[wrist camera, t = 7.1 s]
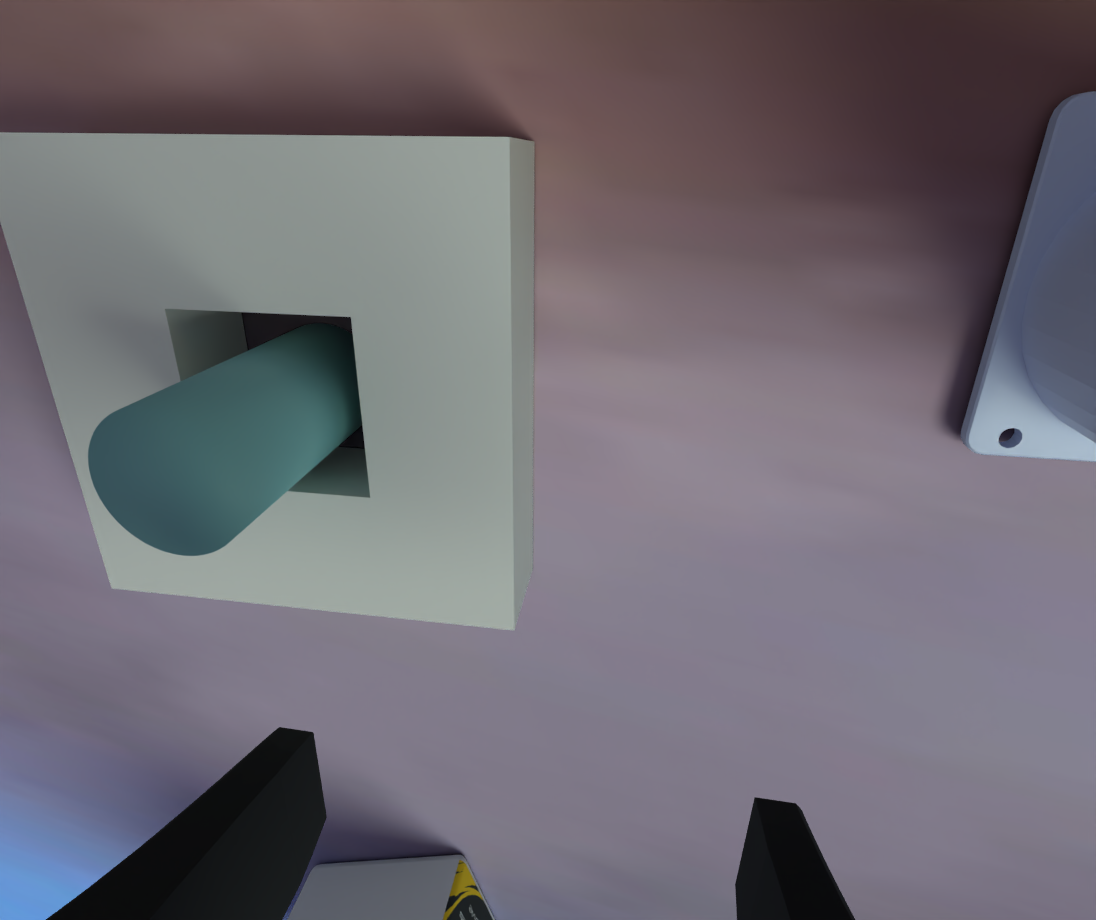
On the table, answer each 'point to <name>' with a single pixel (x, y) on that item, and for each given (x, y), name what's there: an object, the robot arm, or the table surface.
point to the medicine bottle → (392, 891)
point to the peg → (226, 440)
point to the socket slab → (304, 289)
